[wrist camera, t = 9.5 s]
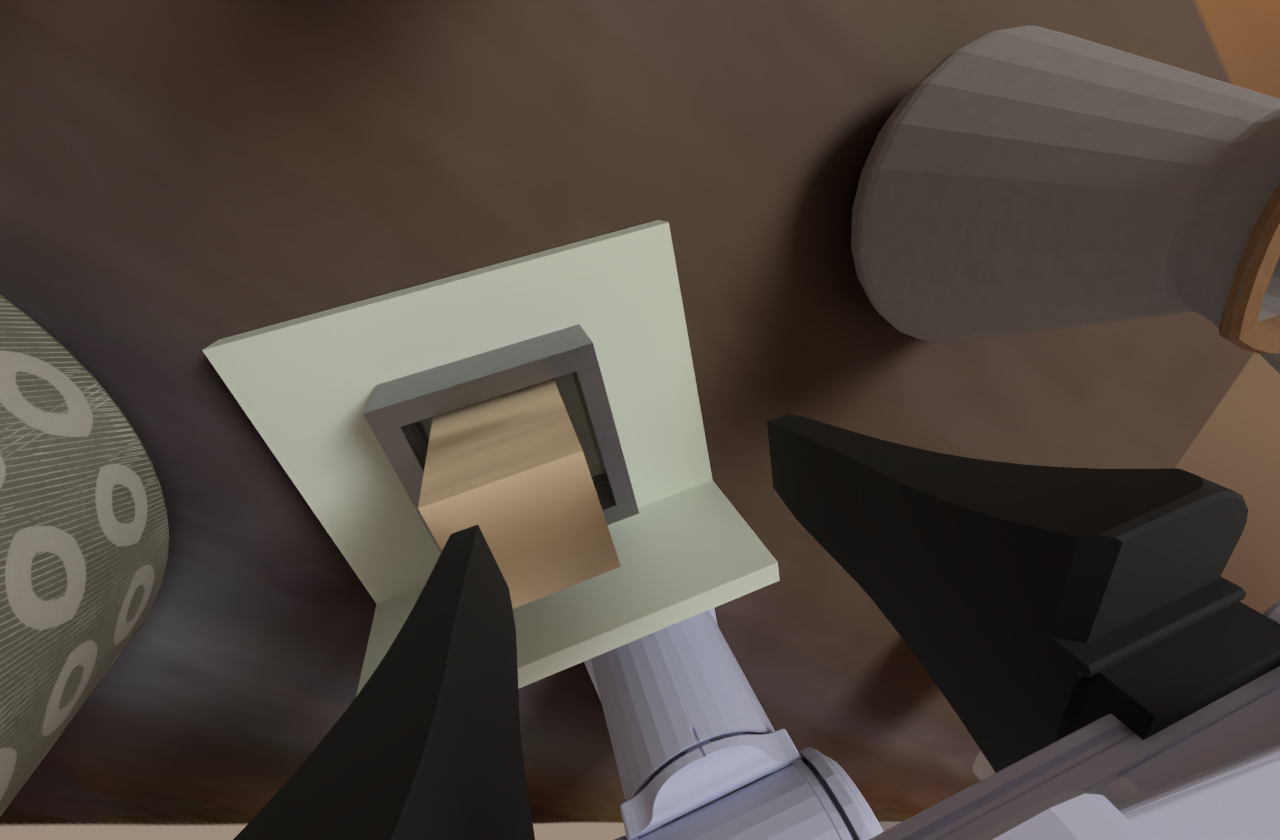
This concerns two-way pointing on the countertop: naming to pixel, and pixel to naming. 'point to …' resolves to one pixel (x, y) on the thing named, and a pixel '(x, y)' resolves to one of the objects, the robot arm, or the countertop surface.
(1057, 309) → the coffee pot
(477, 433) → the oak post
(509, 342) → the mounting board
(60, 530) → the planter
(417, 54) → the countertop surface
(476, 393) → the grey square frame
